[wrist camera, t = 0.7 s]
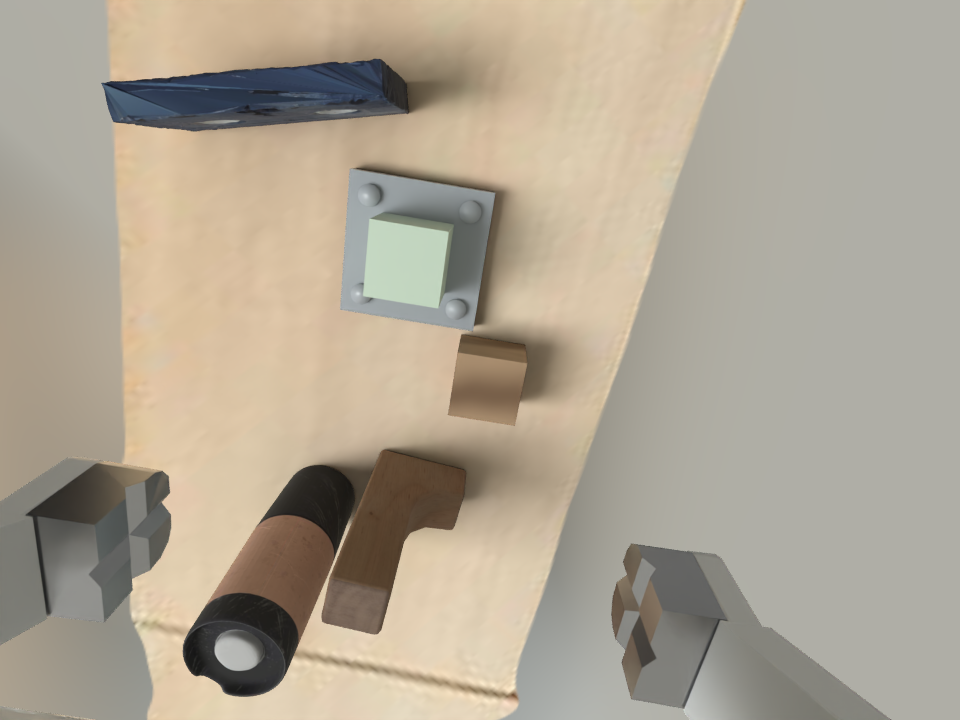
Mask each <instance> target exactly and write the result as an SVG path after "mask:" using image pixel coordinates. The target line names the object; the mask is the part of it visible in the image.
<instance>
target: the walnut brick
mask: <svg viewBox="0 0 960 720" xmlns="http://www.w3.org/2000/svg"><path fill="white" fill-rule="evenodd" d="M526 369H527V357H526V350H525V345H522V344H516V343H510V342H504V341H498V340H492V339H486V338H479V337H473V336H467V335H461V339H460V344H459V349H458V354H457V360H456V367H455V373H454V380H453V386H452V393H451V399H450V406H449V412H448V415H450V416H457V417H463V418H469V419H476V420H482V421H488V422H495V423H501V424H507V425H514V426H515V422H516V417H517V412H518V407H519V403H520V398H521V393H522V388H523V383H524V378H525V373H526Z"/></svg>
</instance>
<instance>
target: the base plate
mask: <svg viewBox="0 0 960 720" xmlns="http://www.w3.org/2000/svg"><path fill="white" fill-rule="evenodd" d="M494 199H495V192H491V191H485V190H479V189H473V188H467V187H461V186H456V185H450V184H444V183H438V182H432V181H426V180H420V179H414V178H408V177H402V176H396V175H391V174H385V173H379V172H373V171H367V170H361V169H355V168H353V169H350V174H349V188H348V203H347V218H346V233H345V247H344V262H343V277H342V291H341V306H340V310H345V311H352V312H358V313H364V314H370V315H376V316H382V317H388V318H395V319H401V320H407V321H413V322H419V323H425V324H432V325H438V326H444V327H450V328H456V329H462V330H468V331H473V328H474V322H475V315H476V309H477V303H478V297H479V291H480V285H481V278H482V272H483V266H484V260H485V254H486V248H487V242H488V235H489V229H490V223H491V217H492V211H493V205H494ZM381 213H389V214H395V215H401V216H407V217H413V218H419V219H425V220H431V221H437V222H443V223H449V224H454V228H453V235H452V242H451V250H450V257H449V264H448V271H447V278H446V286H445V293H444V296H443V298H442V301H441V303H440V306H439V308H432V307H426V306H420V305H414V304H408V303H402V302H396V301H390V300H383V299H377V298H371V297H365V296H363V289H364V277H365V265H366V253H367V241H368V229H369V219H370V218H372V217H374V216H376V215H378V214H381Z"/></svg>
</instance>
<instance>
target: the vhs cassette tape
mask: <svg viewBox="0 0 960 720" xmlns="http://www.w3.org/2000/svg"><path fill="white" fill-rule="evenodd" d="M101 84H102V86H103V88H104V90H105V95H106V101H107V105H108V109H109V112H110V114H111V117H112V120H113V122H116V123H127V124H135V125H142V126H149V127H157V128H167V129H170V128H171V129H181V130H187V131H201V130H217V129H226V128H238V127H251V126H264V125H275V124H288V123H299V122H311V121H323V120H335V119H348V118H360V117H370V116H383V115H393V114H405V113H406V114H408V113H409V110H408V98H407V95H408V94H407V84H406V83H405V81H404V80H403V79H402V78H401V77H400V76H399V75H398V74H397V73H396V72H394V71H393V70H392V69H391V68H390V67H389V66H388V65H386V63H385V62H384V61H382V60H381V59H373V60H370V61H356V62H353V63H346V62H345V63H337V62H329V63H322V64H314V65H308V66H299V67H283V68H273V67H271V68H265V69H252V70H250V69H244V70H232V71H226V72H220V73H202V74H197V75H190V76H179V77H170V78H154V79H143V80H136V81H111V82H107V83H101Z"/></svg>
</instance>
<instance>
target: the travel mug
mask: <svg viewBox="0 0 960 720" xmlns="http://www.w3.org/2000/svg"><path fill="white" fill-rule="evenodd" d="M354 501H355V495H354V490H353V487H352V485H351V483H350V482H349V480H348V479H347V478H346V477H345V476H344V475H343V474H342V473H340V472H339V471H337V470H335V469H333V468H330V467H326V466H310V467H306V468H304V469H302V470H300V471H298V472H297V473H296V474H295V475H294V476H293V477H292V478H291V480H290V481H289V482H288V484H287V485H286V486H285V488H284V489H283V491H282V492H281V493H280V495H279V496H278V498H277V499H276V500H275V502H274V503H273V505H272V506H271V507H270V509H269V510H268V512H267V513H266V514H265V516H264V517H263V518H262V520H261V521H260V523H259V524H258V525H257V527H256V528H255V530H254V531H253V533H252V534H251V536H250V537H249V539H248V540H247V542H246V544H245V545H244V547H243V548H242V550H241V551H240V553H239V555H238V556H237V558H236V559H235V561H234V562H233V564H232V565H231V567H230V569H229V570H228V572H227V573H226V575H225V576H224V578H223V579H222V581H221V583H220V584H219V586H218V587H217V589H216V590H215V592H214V594H213V595H212V597H211V598H210V600H209V601H208V603H207V604H206V606H205V608H204V609H203V611H202V612H201V614H200V615H199V617H198V618H197V620H196V622H195V623H194V625H193V626H192V628H191V629H190V631H189V633H188V634H187V636H186V638H185V641H184V644H183V657H184V661H185V663H186V666H187V667H188V669H189V671H190V672H191V673H192V674H193V675H194V676H200V675H201V676H206V677H208V678H210V679H212V680H214V681H215V682H217V683H218V684H219V685H220V686H221V687H222V690H223V692H224V693H225V694H228V695H232V696H239V697H249V696H256V695H261V694H264V693H266V692H269V691H270V690H272V689H274V688H275V687H276V686H277V685H278V684H279V683H280V682H281V681H282V679H283V678H284V676H285V674H286V672H287V670H288V667H289V665H290V663H291V660H292V658H293V656H294V653H295V651H296V648H297V646H298V644H299V642H300V639H301V637H302V635H303V632H304V630H305V627H306V625H307V623H308V620H309V618H310V616H311V613H312V611H313V609H314V606H315V604H316V602H317V599H318V597H319V595H320V592H321V590H322V587H323V585H324V583H325V580H326V578H327V576H328V573H329V571H330V569H331V566H332V564H333V561H334V558H335V556H336V553H337V550H338V547H339V545H340V542H341V539H342V536H343V534H344V531H345V528H346V525H347V523H348V520H349V517H350V514H351V512H352V509H353V505H354Z"/></svg>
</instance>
